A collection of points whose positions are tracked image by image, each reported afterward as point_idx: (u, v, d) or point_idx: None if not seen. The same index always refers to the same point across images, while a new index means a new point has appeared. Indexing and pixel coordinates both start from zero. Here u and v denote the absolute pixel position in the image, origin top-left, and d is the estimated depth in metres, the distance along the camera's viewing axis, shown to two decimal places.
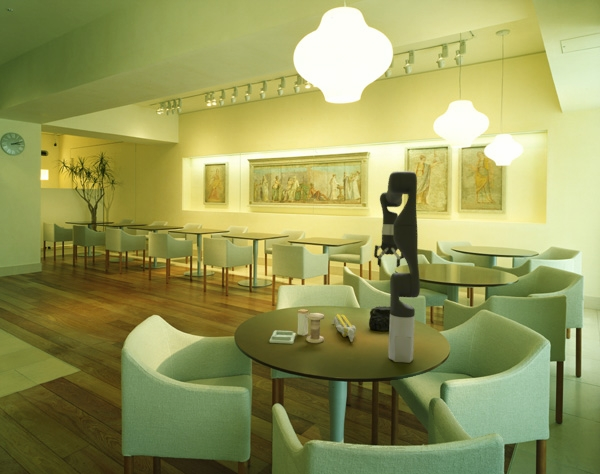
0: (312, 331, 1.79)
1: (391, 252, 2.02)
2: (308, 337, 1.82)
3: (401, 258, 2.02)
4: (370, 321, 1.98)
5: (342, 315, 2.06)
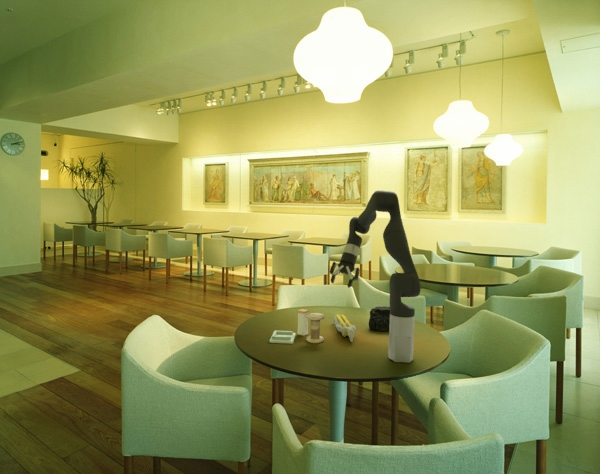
0: (312, 331, 1.79)
1: (346, 271, 2.04)
2: (308, 337, 1.82)
3: (354, 279, 2.02)
4: (370, 321, 1.98)
5: (342, 315, 2.06)
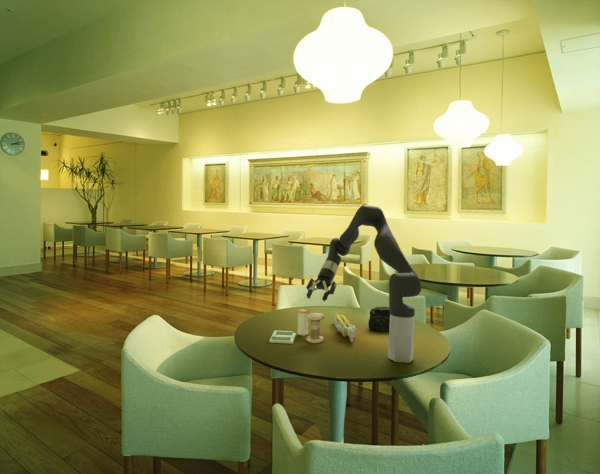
0: (312, 331, 1.79)
1: (322, 285, 2.00)
2: (308, 337, 1.82)
3: (329, 292, 1.96)
4: (369, 321, 1.97)
5: (341, 315, 2.06)
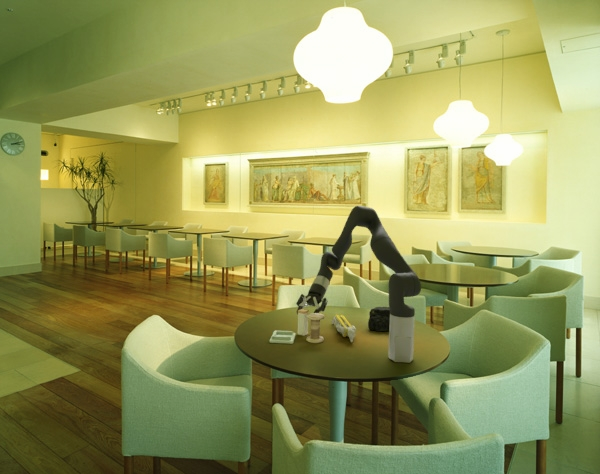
0: (312, 331, 1.79)
1: (312, 302, 1.94)
2: (308, 337, 1.82)
3: (320, 309, 1.90)
4: (369, 321, 1.97)
5: (341, 315, 2.06)
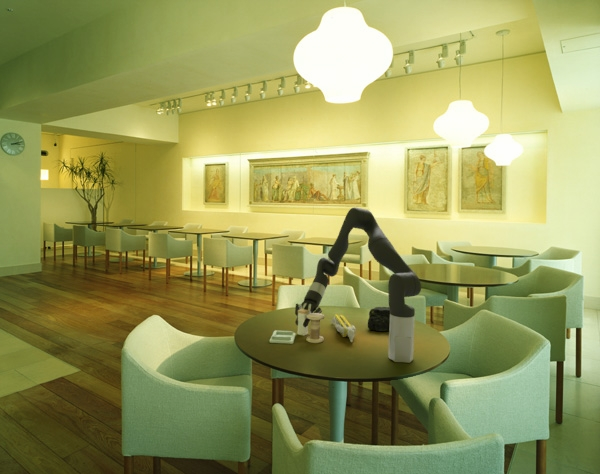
0: (312, 331, 1.79)
1: (307, 308, 1.92)
2: (308, 337, 1.82)
3: None
4: (369, 321, 1.97)
5: (341, 315, 2.05)
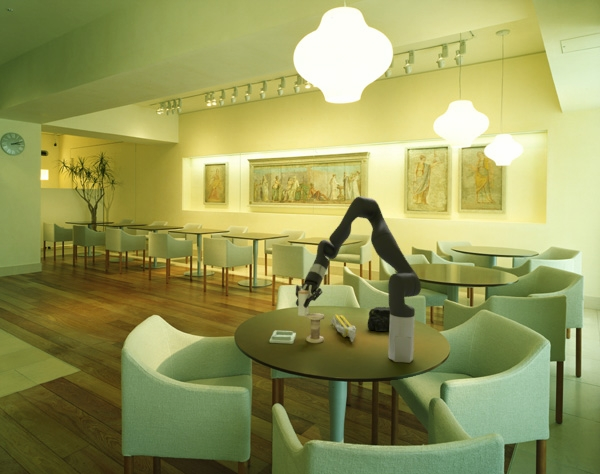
0: (312, 331, 1.79)
1: (307, 289, 1.91)
2: (308, 337, 1.82)
3: (311, 298, 1.87)
4: (369, 321, 1.97)
5: (340, 315, 2.05)
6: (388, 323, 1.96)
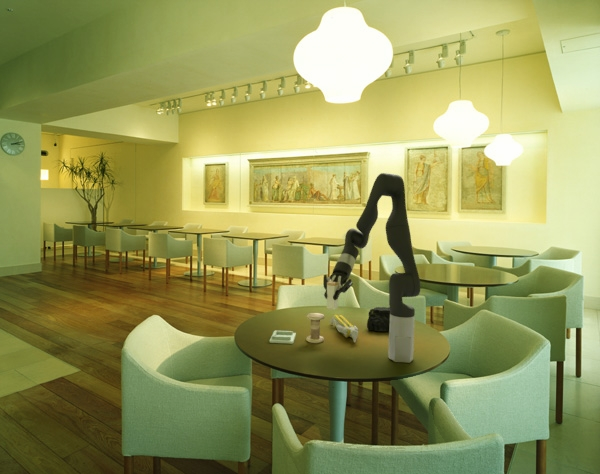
0: (312, 331, 1.79)
1: (337, 280, 1.78)
2: (308, 337, 1.82)
3: (340, 290, 1.74)
4: (368, 322, 1.97)
5: (340, 315, 2.05)
6: (388, 323, 1.95)
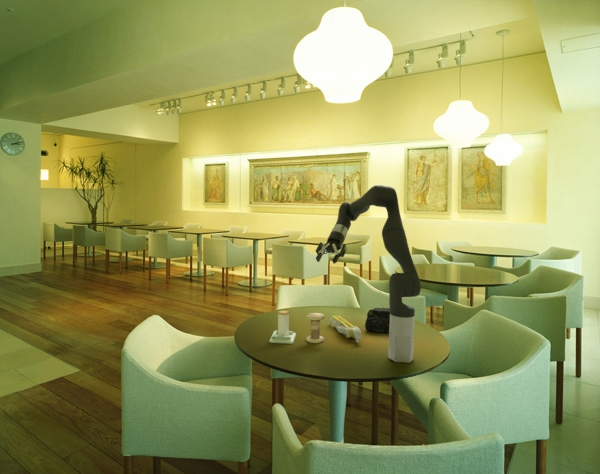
0: (312, 331, 1.79)
1: (332, 248, 1.95)
2: (308, 337, 1.82)
3: (339, 254, 1.91)
4: (366, 322, 1.96)
5: (338, 316, 2.04)
6: (386, 324, 1.94)
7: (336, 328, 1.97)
